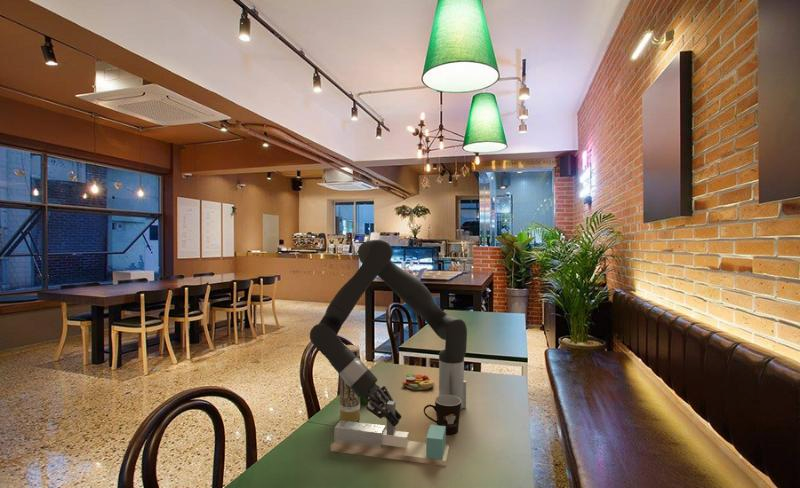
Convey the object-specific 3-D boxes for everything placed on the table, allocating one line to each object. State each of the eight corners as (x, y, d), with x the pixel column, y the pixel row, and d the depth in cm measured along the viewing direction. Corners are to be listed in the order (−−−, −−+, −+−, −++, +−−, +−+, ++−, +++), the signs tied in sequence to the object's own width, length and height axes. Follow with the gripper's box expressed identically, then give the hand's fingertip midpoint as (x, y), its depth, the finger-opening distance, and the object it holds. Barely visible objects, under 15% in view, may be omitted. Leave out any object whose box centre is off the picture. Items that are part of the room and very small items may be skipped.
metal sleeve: (334, 443, 117) (334, 427, 117) (340, 435, 122) (340, 420, 122) (381, 449, 114) (381, 433, 114) (385, 440, 118) (385, 425, 118)
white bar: (344, 440, 117) (344, 400, 117) (348, 435, 120) (347, 396, 120) (406, 447, 113) (406, 406, 113) (408, 442, 116) (408, 402, 116)
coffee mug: (463, 426, 130) (463, 396, 130) (458, 439, 122) (458, 407, 122) (429, 421, 134) (429, 392, 134) (422, 433, 126) (422, 402, 126)
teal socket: (426, 457, 109) (426, 437, 109) (430, 443, 117) (430, 424, 117) (442, 459, 108) (442, 439, 108) (445, 445, 116) (445, 426, 116)
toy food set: (435, 392, 160) (435, 384, 160) (402, 392, 160) (402, 384, 160) (432, 380, 173) (432, 372, 173) (402, 380, 174) (402, 372, 174)
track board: (330, 450, 116) (330, 445, 116) (340, 437, 124) (340, 432, 123) (445, 466, 108) (445, 460, 108) (449, 450, 116) (449, 445, 116)
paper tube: (356, 425, 131) (356, 351, 131) (337, 423, 133) (336, 349, 132) (362, 416, 138) (362, 345, 138) (344, 414, 139) (343, 344, 139)
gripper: (358, 376, 110) (401, 424, 108) (373, 361, 124) (411, 403, 121) (341, 394, 111) (382, 441, 109) (357, 377, 125) (395, 419, 122)
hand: (397, 421), depth 115 cm, fingers closed on white bar, 2 cm apart
